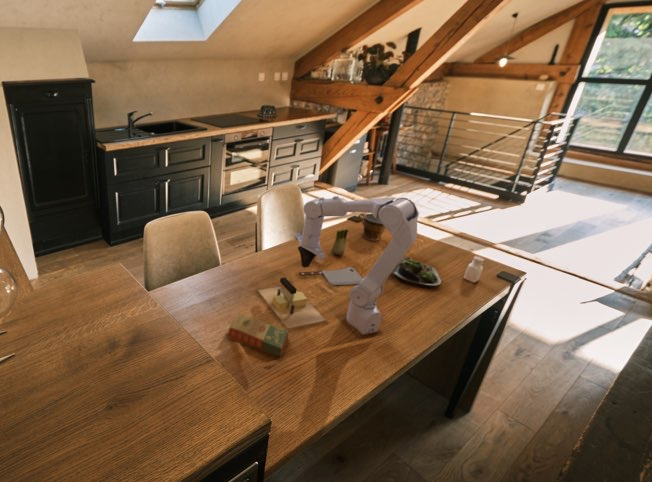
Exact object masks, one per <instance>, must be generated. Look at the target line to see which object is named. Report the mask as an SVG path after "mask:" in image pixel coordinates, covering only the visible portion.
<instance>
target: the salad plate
mask: <svg viewBox="0 0 652 482" xmlns="http://www.w3.org/2000/svg"><path fill="white" fill-rule="evenodd" d="M391 274H392V275H393V276H395V278H396V279H397V280H398V281H400V282H402V283H405V284H406V285H412V286H415V287H419V288H426V289H435V288H437V287H439V286H441V284H442V280H441V277H440V275H439V273H438V271H437V269H435V268H434V267H432V266H431V265H429V264H426V263H421V262H420V261H417V260H414V259H413V258H411V257H410V256H407V255H406V256H404V257H403V258H402V259H401V261H400V262H399V263H398V264H397V266H396V267H395V268H394V270H393V271H392V272H391Z"/></svg>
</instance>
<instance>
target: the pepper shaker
mask: <svg viewBox="0 0 652 482" xmlns="http://www.w3.org/2000/svg"><path fill="white" fill-rule="evenodd" d="M484 262H485V258H482V257H481V256H476V255H475V256H473V258H472V261H471V262H470V263H469V264H468V265H467V268H466V270H465V273H464V275H463V279H465V280H466V281H469V282H471V283H473V284H474V283H476V282H478V281H479V280H480V277H481V275H482V272H483V270H484V267H483V264H484Z"/></svg>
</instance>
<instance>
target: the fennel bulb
mask: <svg viewBox="0 0 652 482" xmlns="http://www.w3.org/2000/svg"><path fill="white" fill-rule="evenodd" d="M348 233H349V228H341V229H337V230H336V236H335V240H334V242H333V245H332V247H331V250H330V251H331V253H332V254H333V255H334V256H343V255H344V253H345V252H346V251H345V250H346V245H347V244H346V243H347V236H348Z"/></svg>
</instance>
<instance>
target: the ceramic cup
mask: <svg viewBox="0 0 652 482" xmlns="http://www.w3.org/2000/svg"><path fill="white" fill-rule="evenodd" d="M361 216H362V217H363V219H362V218H361ZM358 218H359V220H360V222H361V223H362V225H363V233H362V234H363V238H364V239H366V240H367V241H371V242H377V241H379V240H380V239H381V237H382V235H383V233H384V231H385V230H386V227H385V226H384V225H383V224H382V222H381V221H380V219H379V218H377V219H376V218H375V217H374V216H373V214H372V213H366V214H365V213H360V214H359V215H358Z"/></svg>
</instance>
